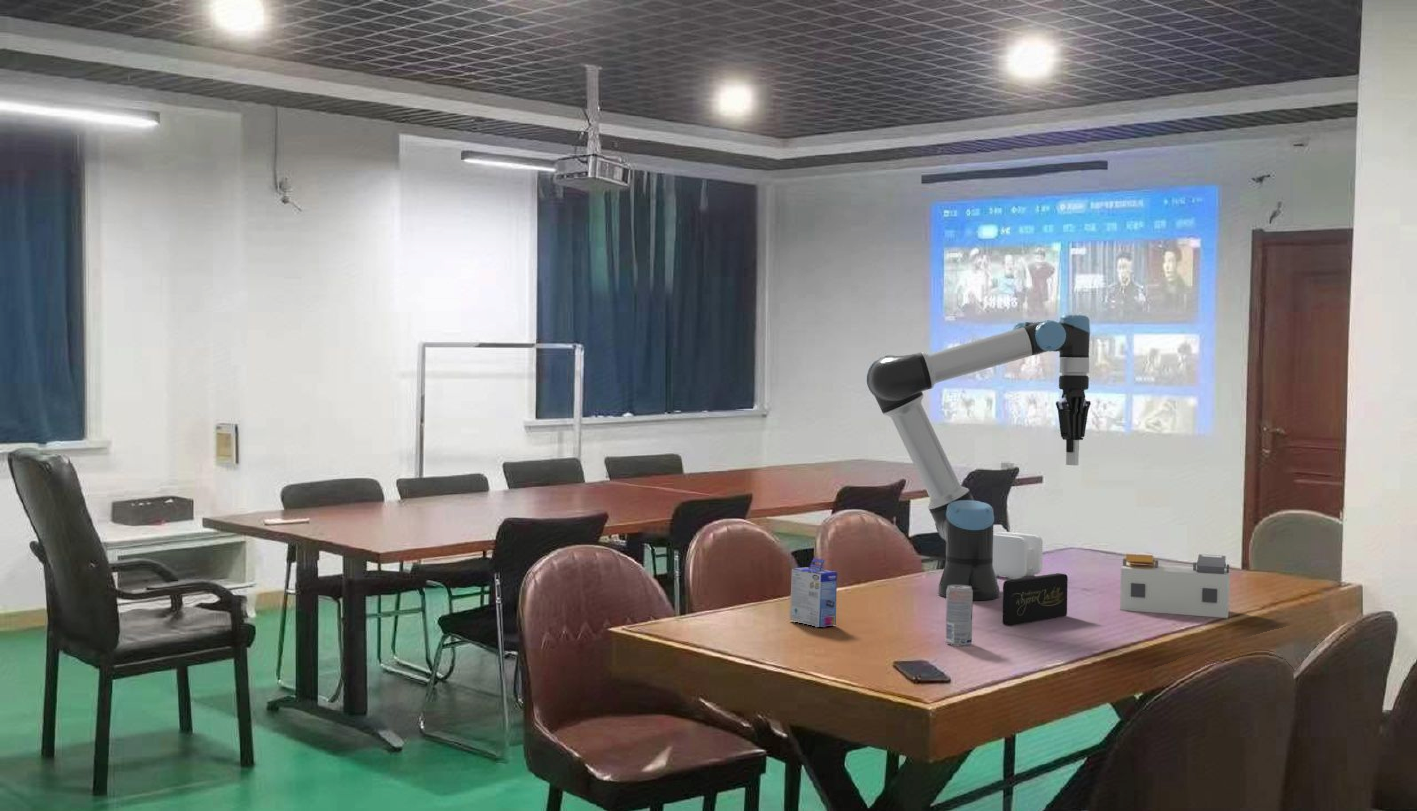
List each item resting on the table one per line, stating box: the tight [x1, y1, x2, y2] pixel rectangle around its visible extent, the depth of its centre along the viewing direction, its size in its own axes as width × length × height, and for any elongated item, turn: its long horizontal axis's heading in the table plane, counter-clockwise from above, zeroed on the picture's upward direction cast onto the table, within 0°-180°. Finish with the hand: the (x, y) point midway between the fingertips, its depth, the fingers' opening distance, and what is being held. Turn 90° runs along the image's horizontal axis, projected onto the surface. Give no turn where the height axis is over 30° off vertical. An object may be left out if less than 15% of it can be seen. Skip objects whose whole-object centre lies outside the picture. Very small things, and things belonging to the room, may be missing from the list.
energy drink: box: [945, 585, 974, 647], centre depth 282 cm, size 5×5×12 cm
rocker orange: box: [1125, 553, 1156, 565], centre depth 327 cm, size 8×6×2 cm
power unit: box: [1119, 557, 1231, 619], centre depth 324 cm, size 10×24×12 cm, turn 67°
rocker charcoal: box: [1196, 553, 1227, 574], centre depth 321 cm, size 8×6×2 cm
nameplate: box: [1002, 572, 1069, 627], centre depth 310 cm, size 21×2×10 cm, turn 129°
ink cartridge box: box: [789, 557, 838, 628], centre depth 302 cm, size 10×6×14 cm, turn 40°
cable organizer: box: [993, 531, 1044, 580], centre depth 376 cm, size 15×11×12 cm
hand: (1072, 464), depth 354 cm, fingers closed
